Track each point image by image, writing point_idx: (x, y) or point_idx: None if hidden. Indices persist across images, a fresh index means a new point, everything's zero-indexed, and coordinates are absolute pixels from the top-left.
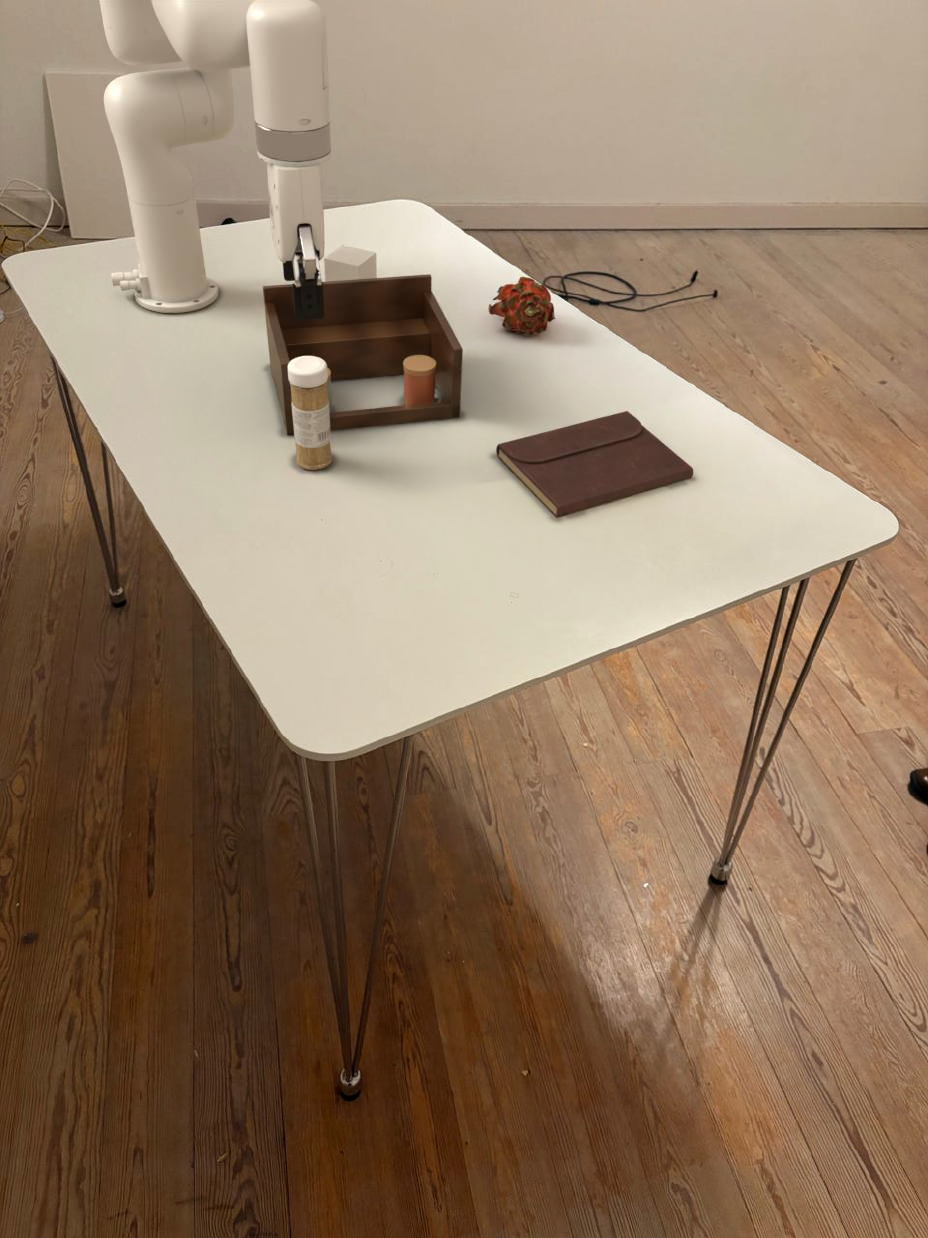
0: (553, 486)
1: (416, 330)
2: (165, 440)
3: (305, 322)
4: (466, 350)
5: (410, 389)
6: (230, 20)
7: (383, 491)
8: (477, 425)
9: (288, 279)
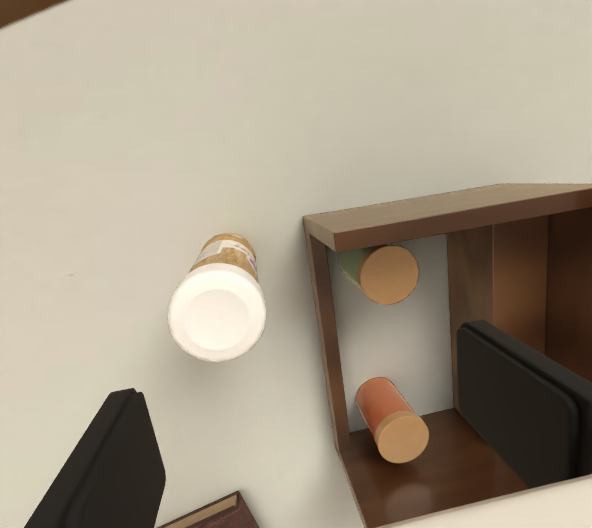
0: None
1: None
2: (297, 7)
3: (556, 257)
4: None
5: (372, 405)
6: None
7: (151, 356)
8: (314, 467)
9: (457, 337)
